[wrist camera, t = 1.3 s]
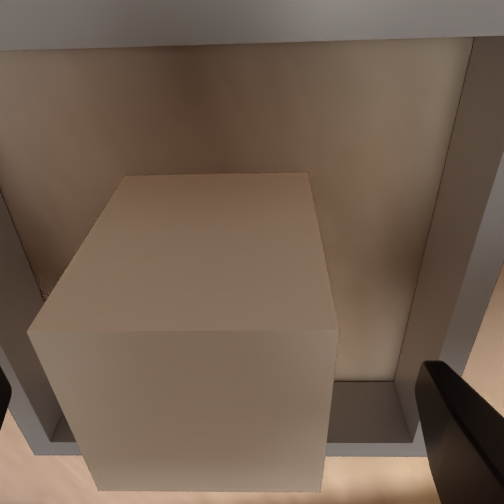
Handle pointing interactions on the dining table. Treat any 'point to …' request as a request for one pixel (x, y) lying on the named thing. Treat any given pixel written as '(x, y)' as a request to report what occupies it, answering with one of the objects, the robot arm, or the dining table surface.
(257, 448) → the stone block
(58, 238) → the dining table surface
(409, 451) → the open square frame
